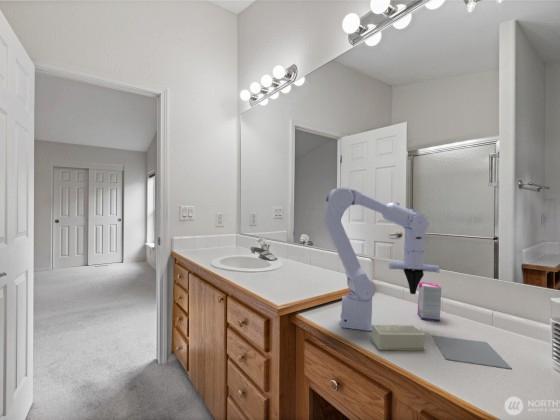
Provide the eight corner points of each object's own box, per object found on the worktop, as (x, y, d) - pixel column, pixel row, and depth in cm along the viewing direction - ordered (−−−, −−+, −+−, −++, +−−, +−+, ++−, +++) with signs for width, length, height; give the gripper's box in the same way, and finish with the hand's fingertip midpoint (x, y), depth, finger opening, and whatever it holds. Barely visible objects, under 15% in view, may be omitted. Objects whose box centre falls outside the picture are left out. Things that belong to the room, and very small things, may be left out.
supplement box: (440, 321, 97) (441, 287, 96) (421, 319, 98) (422, 285, 98) (435, 315, 102) (436, 282, 102) (417, 313, 103) (418, 281, 103)
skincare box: (413, 340, 82) (370, 340, 82) (413, 324, 82) (371, 324, 82) (425, 351, 76) (379, 351, 75) (425, 334, 76) (379, 334, 75)
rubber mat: (445, 359, 72) (445, 358, 72) (431, 335, 85) (431, 335, 85) (512, 369, 68) (512, 368, 68) (486, 342, 82) (486, 342, 82)
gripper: (390, 250, 90) (389, 294, 90) (442, 253, 86) (441, 299, 86) (388, 247, 97) (387, 288, 97) (436, 250, 93) (435, 292, 93)
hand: (412, 293), depth 92 cm, fingers closed
